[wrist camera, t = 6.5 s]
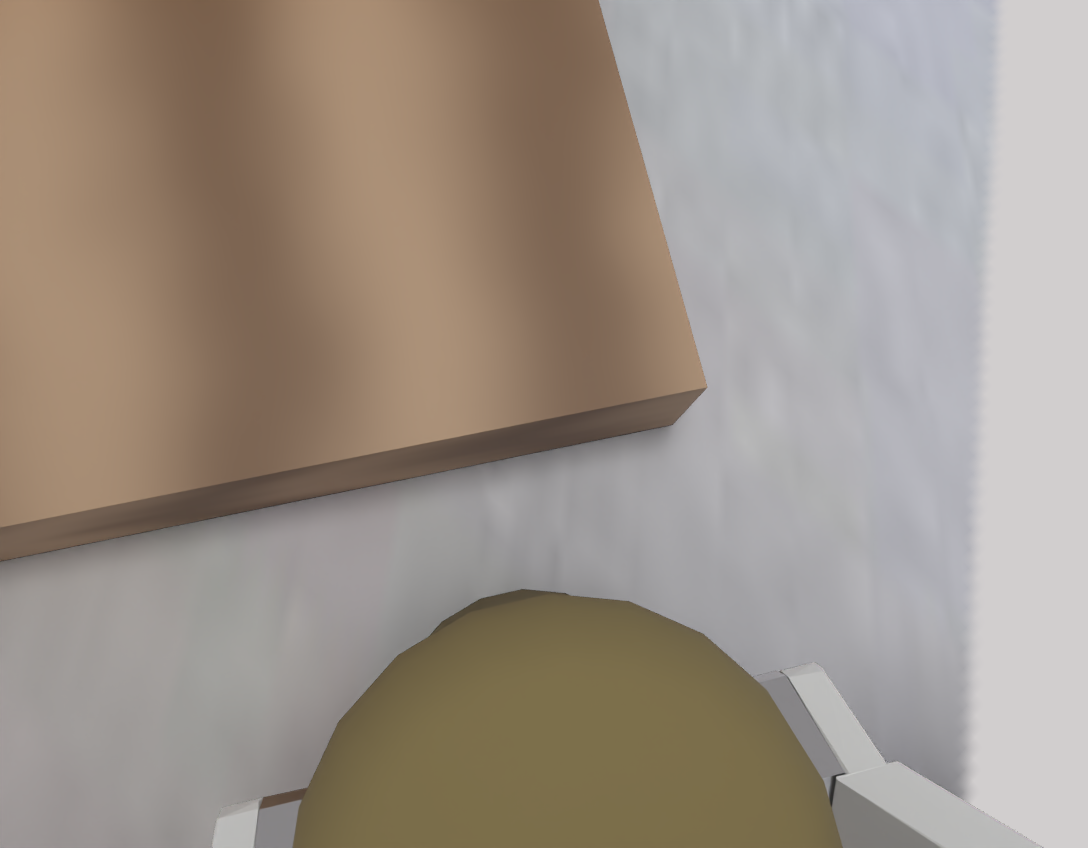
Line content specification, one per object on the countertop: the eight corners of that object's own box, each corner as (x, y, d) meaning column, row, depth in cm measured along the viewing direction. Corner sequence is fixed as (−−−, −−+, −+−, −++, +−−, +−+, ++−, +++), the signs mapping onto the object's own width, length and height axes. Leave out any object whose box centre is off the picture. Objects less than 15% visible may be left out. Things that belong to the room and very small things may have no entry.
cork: (548, 532, 18) (622, 396, 7) (731, 753, 17) (1140, 987, 6) (327, 717, 16) (5, 892, 6) (509, 966, 16) (529, 1725, 5)
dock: (-155, 592, 16) (-425, 578, 12) (-164, 29, 20) (-377, -168, 15) (672, 424, 19) (738, 353, 14) (543, -58, 22) (559, -253, 17)
